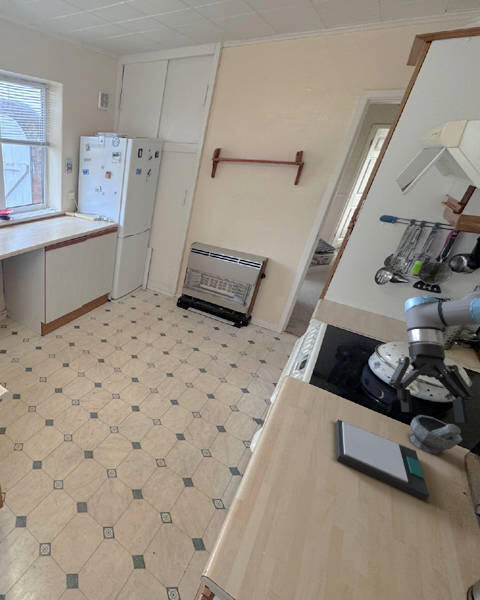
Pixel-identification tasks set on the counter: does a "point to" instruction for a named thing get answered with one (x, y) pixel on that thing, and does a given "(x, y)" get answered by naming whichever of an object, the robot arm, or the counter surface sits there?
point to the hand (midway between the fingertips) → (433, 417)
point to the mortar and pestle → (434, 434)
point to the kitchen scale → (380, 459)
